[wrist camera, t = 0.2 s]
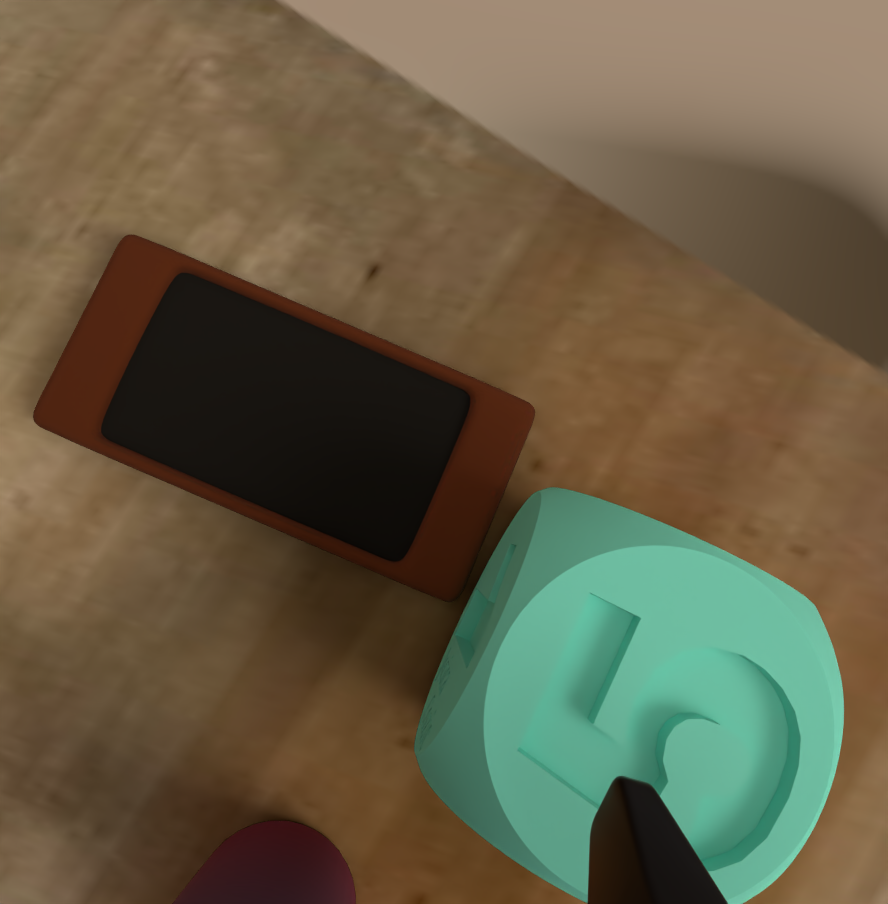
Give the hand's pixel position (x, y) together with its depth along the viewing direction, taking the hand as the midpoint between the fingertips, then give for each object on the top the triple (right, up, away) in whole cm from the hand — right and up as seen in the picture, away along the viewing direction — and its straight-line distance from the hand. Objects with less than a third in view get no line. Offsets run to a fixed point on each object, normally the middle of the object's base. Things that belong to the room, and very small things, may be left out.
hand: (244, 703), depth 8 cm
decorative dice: (+7, -4, +15) cm, 17 cm away
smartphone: (+4, +1, +15) cm, 15 cm away
